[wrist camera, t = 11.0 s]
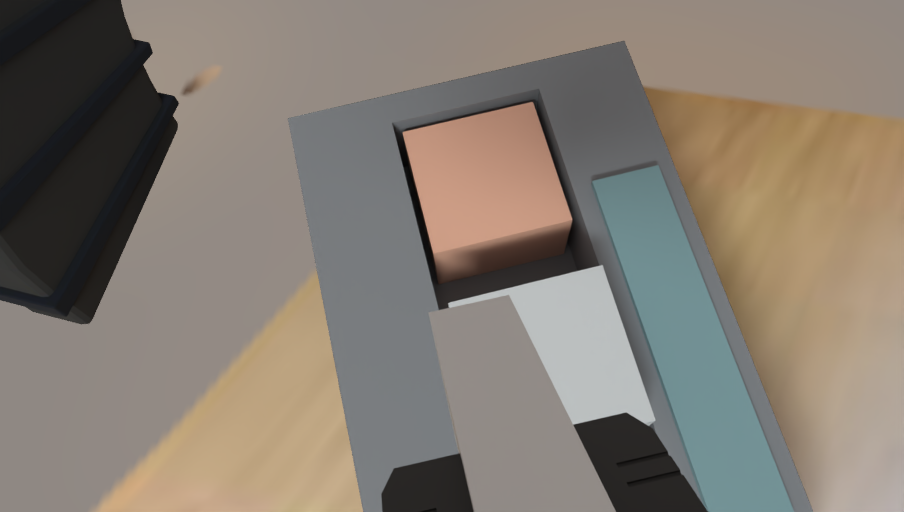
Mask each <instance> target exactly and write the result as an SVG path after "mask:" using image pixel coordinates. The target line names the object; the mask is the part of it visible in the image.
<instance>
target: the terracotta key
mask: <svg viewBox="0 0 904 512" xmlns="http://www.w3.org/2000/svg"><path fill="white" fill-rule="evenodd" d="M403 137H404V143H405V148H406V153H407V158H408V164H409V169H410V174H411V178H412V182H413V186H414V189H415V193H416V197H417V201H418V205H419V209H420V213H421V217H422V221H423V225H424V229H425V233H426V237H427V241H428V245H429V249H430V253H431V257H432V260H433V264H434V268H435V272H436V276H437V280H438V284H442V283H446V282H451V281H455V280H459V279H463V278H467V277H471V276H475V275H479V274H483V273H487V272H491V271H496V270H500V269H504V268H508V267H512V266H516V265H520V264H524V263H528V262H532V261H536V260H541V259H545V258H549V257H553V256H557V255H561V254H564V251H565V247H566V243H567V239H568V236H569V232H570V228H571V224H572V217H571V214H570V211H569V208H568V205H567V202H566V199H565V196H564V193H563V190H562V187H561V184H560V181H559V178H558V175H557V172H556V169H555V166H554V163H553V160H552V157H551V154H550V151H549V148H548V145H547V142H546V139H545V136H544V133H543V130H542V127H541V124H540V121H539V118H538V115H537V112H536V109H535V106H534V103H533V102H529V103H525V104H521V105H517V106H512V107H508V108H504V109H499V110H495V111H491V112H487V113H482V114H478V115H474V116H469V117H465V118H461V119H457V120H452V121H448V122H444V123H439V124H435V125H431V126H426V127H422V128H418V129H414V130H409V131H405V132H403Z"/></svg>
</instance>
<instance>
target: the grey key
mask: <svg viewBox="0 0 904 512" xmlns="http://www.w3.org/2000/svg"><path fill="white" fill-rule="evenodd" d="M506 295H509V296H510V298H511V300H512V302H513V304H514V306H515V308H516V310H517V312H518V314H519V316H520V318H521V320H522V322H523V324H524V326H525V328H526V330H527V332H528V334H529V336H530V338H531V340H532V342H533V345H534V347H535V349H536V351H537V353H538V355H539V357H540V359H541V361H542V363H543V365H544V367H545V369H546V371H547V373H548V375H549V377H550V379H551V381H552V383H553V385H554V387H555V389H556V391H557V393H558V395H559V397H560V399H561V401H562V403H563V405H564V407H565V409H566V411H567V413H568V415H569V417H570V419H571V422H572V424H573V425H574V424H578V423H582V422H587V421H591V420H595V419H600V418H604V417H608V416H613V415H617V414H621V413H626V412H627V413H628V414H630V415H632V416H633V417H635V418H636V419H638V420H640V421H641V422H643V423H645V424H646V425H648V426H649V425H651V424H652V423H653V422H654V421H656V420H655V417H654V414H653V411H652V408H651V406H650V403H649V400H648V397H647V394H646V391H645V388H644V385H643V382H642V379H641V376H640V373H639V370H638V368H637V365H636V362H635V359H634V356H633V353H632V350H631V347H630V344H629V341H628V338H627V335H626V332H625V330H624V327H623V324H622V321H621V318H620V315H619V312H618V309H617V306H616V303H615V300H614V297H613V294H612V292H611V289H610V286H609V283H608V280H607V277H606V274H605V271H604V268H603V265H601V266H596V267H592V268H588V269H584V270H580V271H576V272H572V273H568V274H564V275H560V276H556V277H552V278H548V279H544V280H540V281H535V282H531V283H527V284H523V285H519V286H515V287H511V288H507V289H503V290H499V291H495V292H491V293H487V294H483V295H479V296H474V297H470V298H466V299H462V300H458V301H454V302H450V303H448V306H449V308H451V307H456V306H460V305H465V304H469V303H474V302H478V301H483V300H488V299H492V298H497V297H501V296H506Z"/></svg>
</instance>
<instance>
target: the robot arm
mask: <svg viewBox="0 0 904 512" xmlns="http://www.w3.org/2000/svg"><path fill="white" fill-rule="evenodd" d="M429 318H430V322H431V327H432V332H433V336H434V341H435V346H436V350H437V355H438V360H439V364H440V369H441V374H442V378H443V383H444V388H445V392H446V397H447V402H448V406H449V411H450V416H451V420H452V425H453V430H454V434H455V439H456V443H457V448H458V452H459V453H458V454H454V455H450V456H445V457H441V458H437V459H432V460H428V461H424V462H419V463H415V464H411V465H406V466H402V467H398V468H394V469H393V471H392V473H391V475H390V477H389V479H388V481H387V483H386V485H385V487H384V489H383V492H382V494H381V498H382V512H708V511H707V510H706V508H705V507H704V505H703V504H702V502H701V501H700V499H699V498H698V496H697V494H696V493H695V491H694V490H693V488H692V487H691V485H690V484H689V482H688V481H687V479H686V478H685V476H684V475H682V474H681V472H680V469H679V467H678V466H677V464H676V463H675V461H674V460H673V458H672V457H671V456H669V454H668V451H667V449H666V448H665V446H664V445H663V443H662V442H661V440H660V439H659V437H658V436H657V434H656V433H655V431H654V430H653V428H651V427H649V426H648V425H646V424H645V423H643V422H641V421H640V420H638V419H636V418H635V417H633V416H632V415H630V414H628V413H627V412H626V413H621V414H617V415H613V416H608V417H604V418H600V419H595V420H591V421H587V422H582V423H578V424H574V425H573V424H572V422H571V419H570V417H569V415H568V413H567V411H566V409H565V407H564V405H563V403H562V401H561V399H560V397H559V395H558V393H557V391H556V389H555V387H554V385H553V383H552V381H551V379H550V377H549V375H548V373H547V371H546V369H545V367H544V365H543V363H542V361H541V359H540V357H539V355H538V353H537V351H536V349H535V347H534V345H533V342H532V340H531V338H530V336H529V334H528V332H527V330H526V328H525V326H524V324H523V322H522V320H521V318H520V316H519V314H518V312H517V310H516V308H515V306H514V304H513V302H512V300H511V298H510V296H509V295H506V296H501V297H497V298H492V299H488V300H483V301H478V302H474V303H469V304H465V305H460V306H456V307H451V308H447V309H442V310H438V311H433V312H429Z"/></svg>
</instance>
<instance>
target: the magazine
mask: <svg viewBox="0 0 904 512" xmlns="http://www.w3.org/2000/svg"><path fill="white" fill-rule="evenodd" d="M152 53H153V52H152V49H151V46H150V44H149V43H148V42H143V41H139V40H134V39H133V38H132V36H131V33H130V30H129V27H128V25H127V22H126V19H125V17H124V12H123V8H122V4H121V0H0V300H2V301H6V302H10V303H13V304H17V305H21V306H25V307H27V308H28V309H30V310H31V311H33V312H36V313H40V314H44V315H48V316H52V317H55V318H60V319H64V320H67V321H72V322H75V323H79V324H88V323H90V322H91V321H92V319H93V317H94V315H95V312H96V310H97V308H98V306H99V303H100V301H101V299H102V296H103V294H104V292H105V290H106V288H107V285H108V283H109V281H110V279H111V277H112V274H113V272H114V270H115V268H116V265H117V263H118V261H119V259H120V256H121V254H122V252H123V249H124V248H125V245H126V243H127V241H128V239H129V236H130V234H131V232H132V230H133V227H134V225H135V223H136V221H137V218H138V216H139V214H140V212H141V210H142V207H143V205H144V203H145V201H146V198H147V196H148V194H149V191H150V189H151V187H152V185H153V183H154V181H155V178H156V176H157V174H158V172H159V169H160V167H161V165H162V163H163V160H164V158H165V156H166V154H167V152H168V149H169V147H170V145H171V143H172V140H173V138H174V136H175V134H176V131H177V128H178V124H177V121H176V120H175V119H174V117H173V114H174V112H175V110H176V108H177V106H178V104H179V103H178V101H177V100H176V98H175V97H174V96H172V95H167V94H162V93H157V91H156V89H155V88H154V86H153V84H152V82H151V81H150V78H149V76H148V74H147V72H146V70H145V68H144V66H143V64H144V63H145V62H146V60H147V59H148V58H149V57H150V56H151V55H152Z"/></svg>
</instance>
